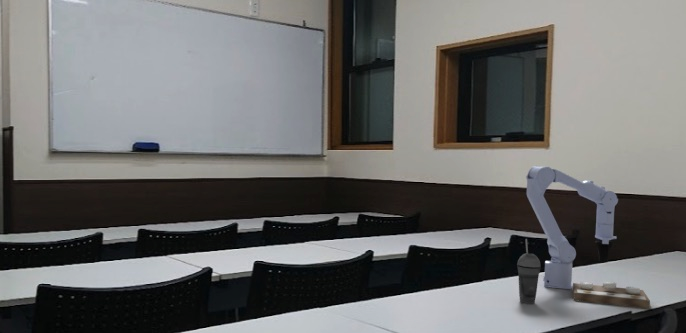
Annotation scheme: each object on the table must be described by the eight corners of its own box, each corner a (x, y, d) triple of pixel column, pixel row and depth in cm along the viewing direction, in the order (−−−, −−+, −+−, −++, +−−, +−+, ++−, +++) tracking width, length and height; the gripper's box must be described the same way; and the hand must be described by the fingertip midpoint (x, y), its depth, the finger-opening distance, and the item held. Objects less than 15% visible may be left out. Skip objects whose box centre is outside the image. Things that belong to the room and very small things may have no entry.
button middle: (603, 288, 196) (603, 283, 196) (602, 285, 200) (602, 281, 200) (616, 289, 195) (616, 284, 195) (615, 287, 198) (615, 282, 198)
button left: (580, 288, 198) (580, 284, 198) (579, 286, 202) (580, 281, 202) (593, 290, 197) (593, 285, 197) (592, 287, 201) (592, 282, 201)
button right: (626, 293, 194) (626, 288, 194) (625, 291, 197) (625, 286, 197) (640, 294, 192) (640, 290, 192) (638, 292, 196) (638, 287, 196)
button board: (573, 300, 193) (574, 291, 193) (572, 290, 209) (573, 282, 208) (649, 308, 186) (649, 299, 186) (642, 297, 201) (643, 289, 201)
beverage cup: (536, 306, 184) (538, 241, 183) (512, 302, 188) (515, 239, 187) (541, 301, 190) (544, 239, 189) (518, 298, 194) (521, 236, 193)
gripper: (618, 226, 206) (617, 265, 206) (615, 222, 219) (613, 259, 220) (596, 225, 208) (595, 263, 209) (594, 221, 222) (592, 257, 222)
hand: (603, 261), depth 214 cm, fingers closed
